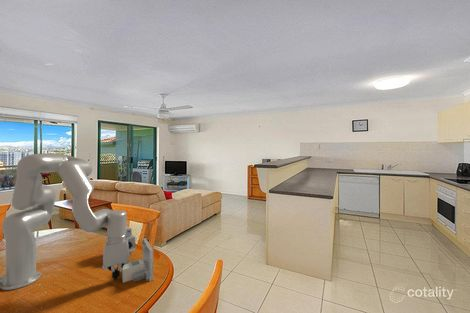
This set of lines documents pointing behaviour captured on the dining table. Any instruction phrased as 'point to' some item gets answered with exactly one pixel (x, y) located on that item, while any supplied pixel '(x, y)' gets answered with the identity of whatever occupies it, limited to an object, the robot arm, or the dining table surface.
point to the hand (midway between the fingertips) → (115, 278)
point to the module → (132, 270)
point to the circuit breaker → (130, 240)
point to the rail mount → (146, 263)
